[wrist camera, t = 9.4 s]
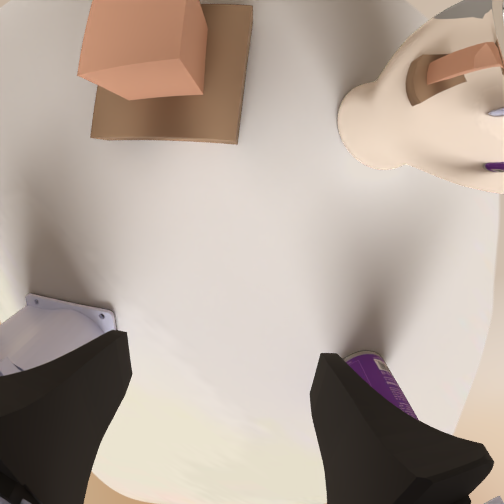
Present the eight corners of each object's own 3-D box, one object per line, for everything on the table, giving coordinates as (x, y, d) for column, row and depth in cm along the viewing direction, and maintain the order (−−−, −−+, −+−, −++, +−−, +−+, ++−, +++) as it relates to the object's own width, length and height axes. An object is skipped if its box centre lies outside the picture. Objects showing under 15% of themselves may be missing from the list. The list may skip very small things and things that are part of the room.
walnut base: (111, 140, 18) (90, 137, 15) (130, 28, 16) (115, 12, 13) (237, 145, 19) (235, 140, 16) (252, 25, 16) (252, 5, 13)
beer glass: (321, 161, 18) (491, 157, 4) (338, 65, 16) (467, -67, 2) (412, 187, 19) (597, 237, 4) (426, 98, 17) (594, 58, 2)
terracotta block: (128, 100, 15) (77, 75, 9) (136, 36, 14) (94, -7, 8) (203, 94, 15) (179, 58, 9) (207, 28, 14) (190, -26, 8)
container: (332, 356, 22) (391, 524, 8) (386, 345, 22) (473, 488, 8) (331, 397, 23) (373, 547, 9) (381, 386, 23) (443, 521, 9)
